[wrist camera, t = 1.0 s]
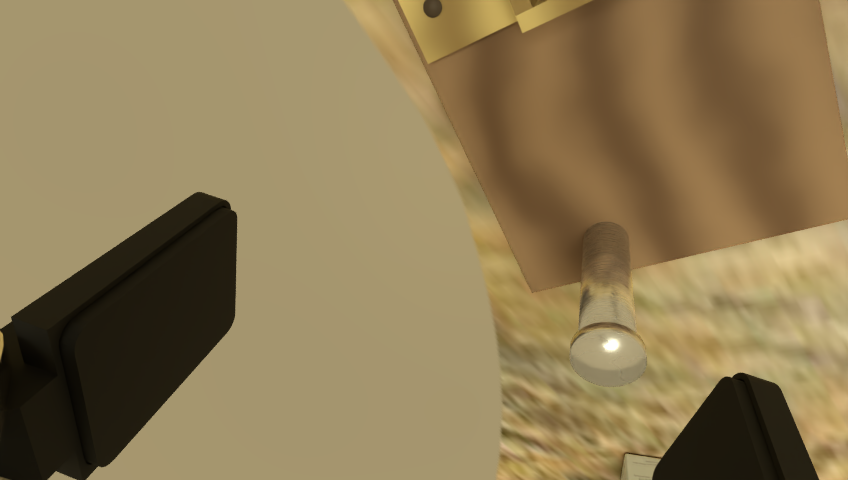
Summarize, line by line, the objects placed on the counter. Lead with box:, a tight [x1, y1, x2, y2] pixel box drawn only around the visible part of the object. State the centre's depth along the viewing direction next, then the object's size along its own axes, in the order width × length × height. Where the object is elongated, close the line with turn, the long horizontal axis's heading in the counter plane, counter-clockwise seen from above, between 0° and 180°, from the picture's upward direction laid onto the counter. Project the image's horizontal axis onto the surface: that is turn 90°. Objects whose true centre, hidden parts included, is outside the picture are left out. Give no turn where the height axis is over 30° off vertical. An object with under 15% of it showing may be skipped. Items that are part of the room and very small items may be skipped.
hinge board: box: [393, 0, 848, 293], centre depth 32 cm, size 22×30×5 cm
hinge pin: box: [570, 222, 647, 387], centre depth 34 cm, size 4×4×13 cm
